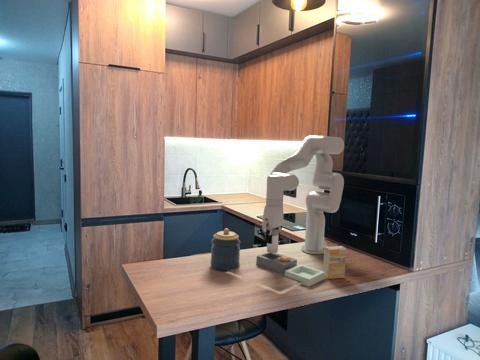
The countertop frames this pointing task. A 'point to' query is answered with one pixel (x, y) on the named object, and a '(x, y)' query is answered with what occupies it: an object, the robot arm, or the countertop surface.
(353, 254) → the countertop surface
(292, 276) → the tray
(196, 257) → the countertop surface
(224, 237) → the canister
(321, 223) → the robot arm
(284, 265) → the housing
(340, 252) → the supplement box
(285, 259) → the brown egg
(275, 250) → the cartridge
